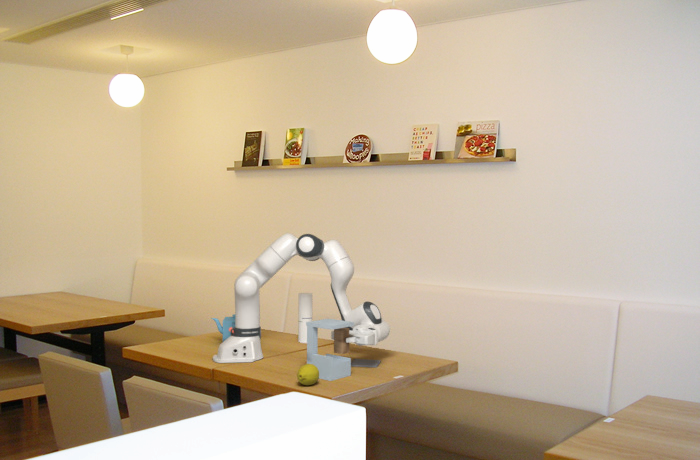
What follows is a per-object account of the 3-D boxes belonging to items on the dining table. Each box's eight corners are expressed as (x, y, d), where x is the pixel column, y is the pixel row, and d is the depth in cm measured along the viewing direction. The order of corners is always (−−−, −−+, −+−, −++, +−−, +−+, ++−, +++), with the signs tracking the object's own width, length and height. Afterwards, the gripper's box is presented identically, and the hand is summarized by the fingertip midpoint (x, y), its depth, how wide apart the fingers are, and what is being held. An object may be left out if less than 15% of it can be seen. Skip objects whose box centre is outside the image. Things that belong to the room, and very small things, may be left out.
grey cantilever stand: (328, 369, 262) (328, 318, 262) (353, 375, 253) (353, 322, 253) (306, 375, 252) (306, 322, 252) (331, 381, 243) (331, 325, 243)
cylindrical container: (310, 343, 319) (310, 294, 319) (296, 342, 321) (296, 294, 321) (313, 340, 326) (313, 292, 326) (300, 340, 328) (300, 292, 328)
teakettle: (237, 338, 332) (237, 311, 332) (262, 342, 320) (261, 314, 320) (208, 344, 317) (208, 315, 317) (233, 348, 305) (233, 318, 305)
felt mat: (349, 366, 269) (349, 364, 269) (354, 360, 281) (354, 358, 281) (376, 367, 267) (376, 366, 267) (380, 361, 278) (380, 360, 278)
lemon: (309, 380, 244) (309, 360, 244) (324, 384, 239) (324, 363, 239) (290, 386, 235) (290, 365, 235) (305, 389, 230) (305, 368, 230)
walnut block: (341, 351, 261) (341, 327, 261) (349, 352, 258) (349, 328, 258) (333, 352, 258) (333, 328, 257) (342, 354, 255) (341, 329, 255)
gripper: (343, 325, 274) (321, 329, 264) (380, 330, 261) (358, 334, 250) (343, 339, 274) (321, 344, 264) (380, 345, 261) (358, 350, 250)
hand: (340, 339), depth 257 cm, fingers closed on walnut block, 4 cm apart
